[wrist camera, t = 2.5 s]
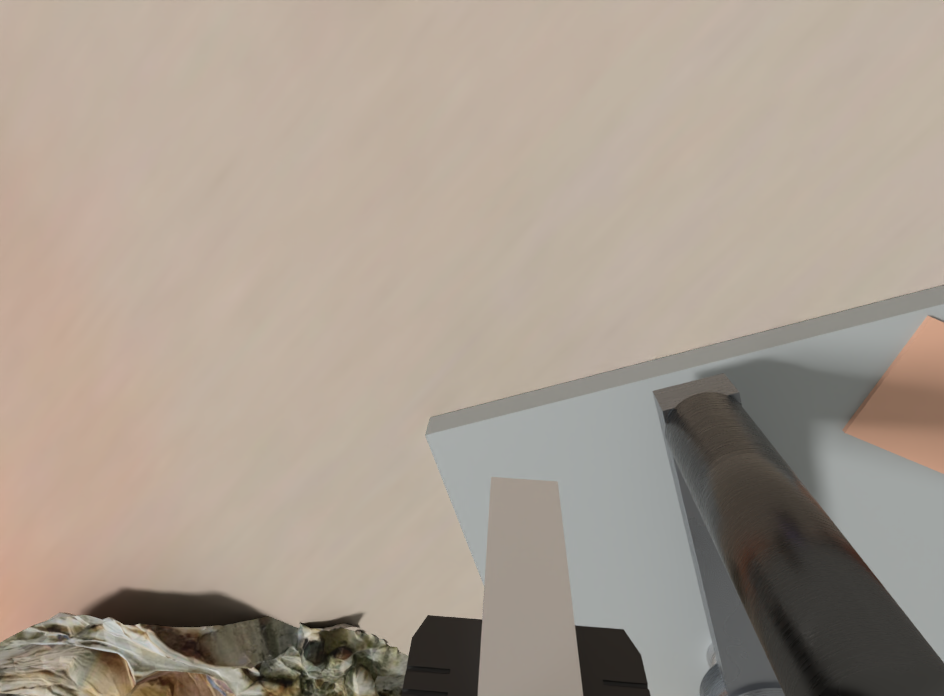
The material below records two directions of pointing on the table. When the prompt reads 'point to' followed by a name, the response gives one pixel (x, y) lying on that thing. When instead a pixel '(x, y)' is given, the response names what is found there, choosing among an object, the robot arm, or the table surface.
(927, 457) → the plate
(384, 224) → the table surface
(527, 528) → the robot arm
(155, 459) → the table surface
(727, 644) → the lever
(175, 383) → the table surface
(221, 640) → the rock
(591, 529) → the board
